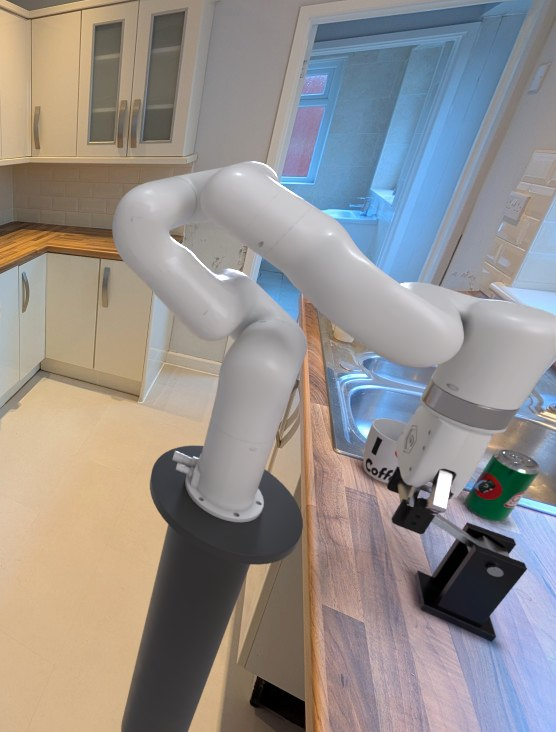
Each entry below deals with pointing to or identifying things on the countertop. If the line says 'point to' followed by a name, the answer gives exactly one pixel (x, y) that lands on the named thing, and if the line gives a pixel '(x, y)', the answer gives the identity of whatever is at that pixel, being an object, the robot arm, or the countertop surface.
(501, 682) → the countertop surface
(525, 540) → the countertop surface
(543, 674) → the countertop surface
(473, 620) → the bracket
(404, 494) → the tap lever
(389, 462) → the cup
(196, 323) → the robot arm
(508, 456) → the soda can
